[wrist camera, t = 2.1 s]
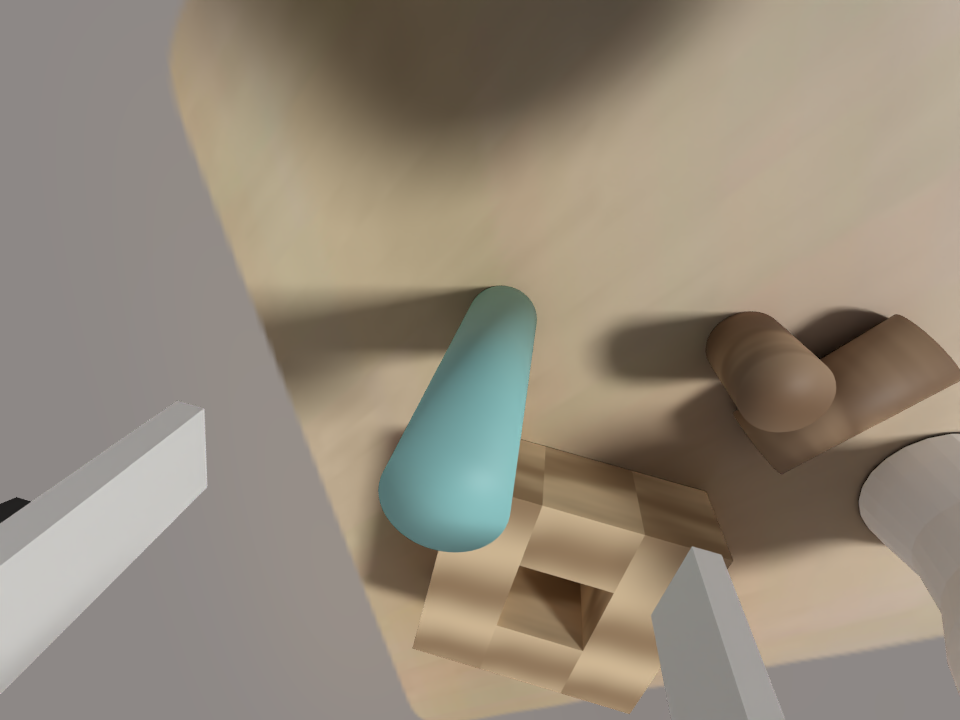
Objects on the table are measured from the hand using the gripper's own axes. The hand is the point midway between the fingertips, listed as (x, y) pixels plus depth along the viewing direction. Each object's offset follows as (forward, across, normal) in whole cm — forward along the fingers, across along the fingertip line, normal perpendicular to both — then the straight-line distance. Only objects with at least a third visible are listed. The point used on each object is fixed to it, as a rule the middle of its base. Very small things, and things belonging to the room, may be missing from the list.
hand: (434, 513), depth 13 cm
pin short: (+14, +12, +2) cm, 19 cm away
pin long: (+14, 0, 0) cm, 14 cm away
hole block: (+14, +7, -14) cm, 21 cm away
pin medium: (+12, +14, -2) cm, 19 cm away
